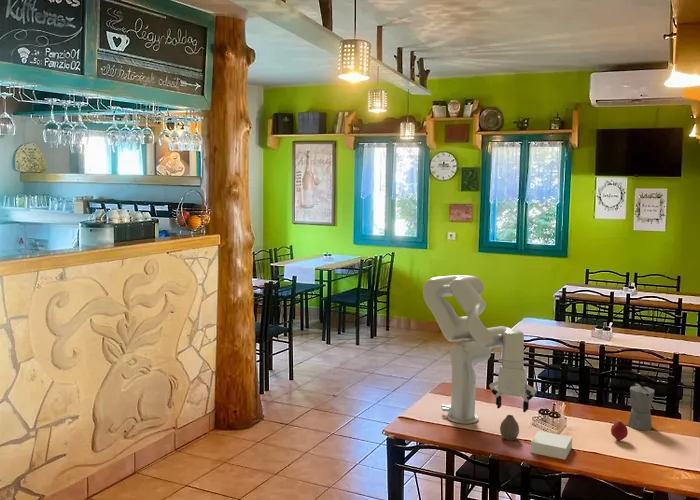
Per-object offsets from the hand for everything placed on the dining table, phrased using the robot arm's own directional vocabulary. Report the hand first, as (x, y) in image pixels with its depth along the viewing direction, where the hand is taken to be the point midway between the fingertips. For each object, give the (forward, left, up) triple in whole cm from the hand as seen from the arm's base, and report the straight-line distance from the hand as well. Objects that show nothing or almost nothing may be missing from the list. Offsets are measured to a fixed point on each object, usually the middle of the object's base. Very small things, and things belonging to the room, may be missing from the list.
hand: (512, 409), depth 247 cm
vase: (-1, 0, -12) cm, 12 cm away
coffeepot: (+40, +40, -12) cm, 58 cm away
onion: (+35, +19, -12) cm, 42 cm away
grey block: (+15, -3, -12) cm, 19 cm away
